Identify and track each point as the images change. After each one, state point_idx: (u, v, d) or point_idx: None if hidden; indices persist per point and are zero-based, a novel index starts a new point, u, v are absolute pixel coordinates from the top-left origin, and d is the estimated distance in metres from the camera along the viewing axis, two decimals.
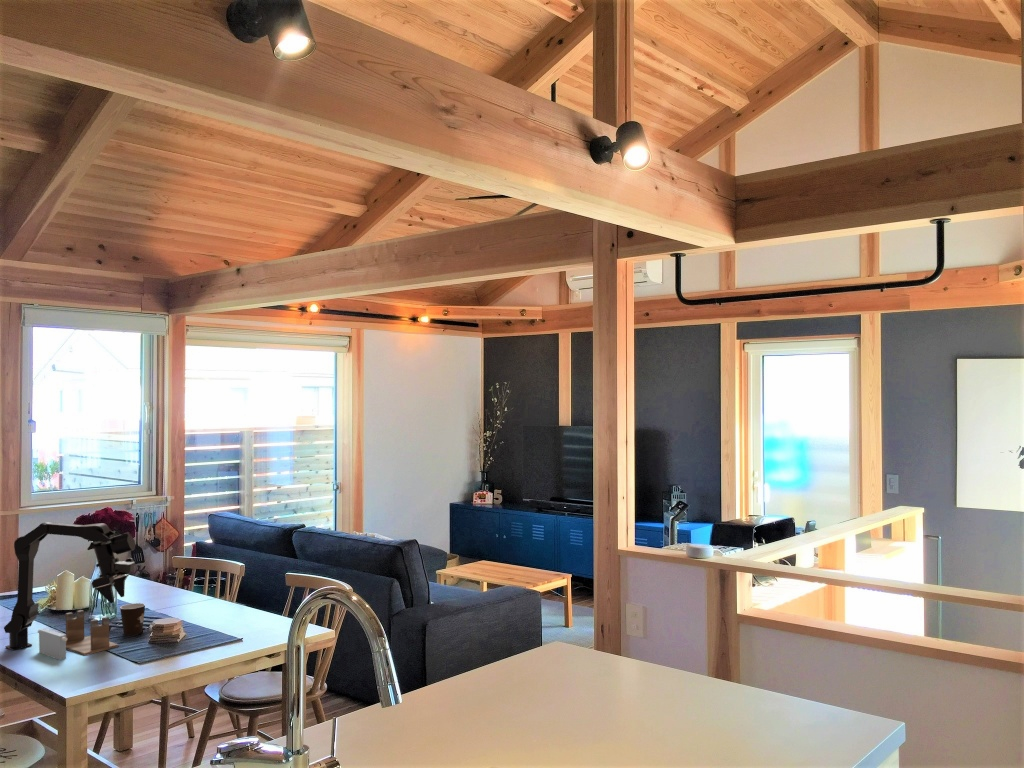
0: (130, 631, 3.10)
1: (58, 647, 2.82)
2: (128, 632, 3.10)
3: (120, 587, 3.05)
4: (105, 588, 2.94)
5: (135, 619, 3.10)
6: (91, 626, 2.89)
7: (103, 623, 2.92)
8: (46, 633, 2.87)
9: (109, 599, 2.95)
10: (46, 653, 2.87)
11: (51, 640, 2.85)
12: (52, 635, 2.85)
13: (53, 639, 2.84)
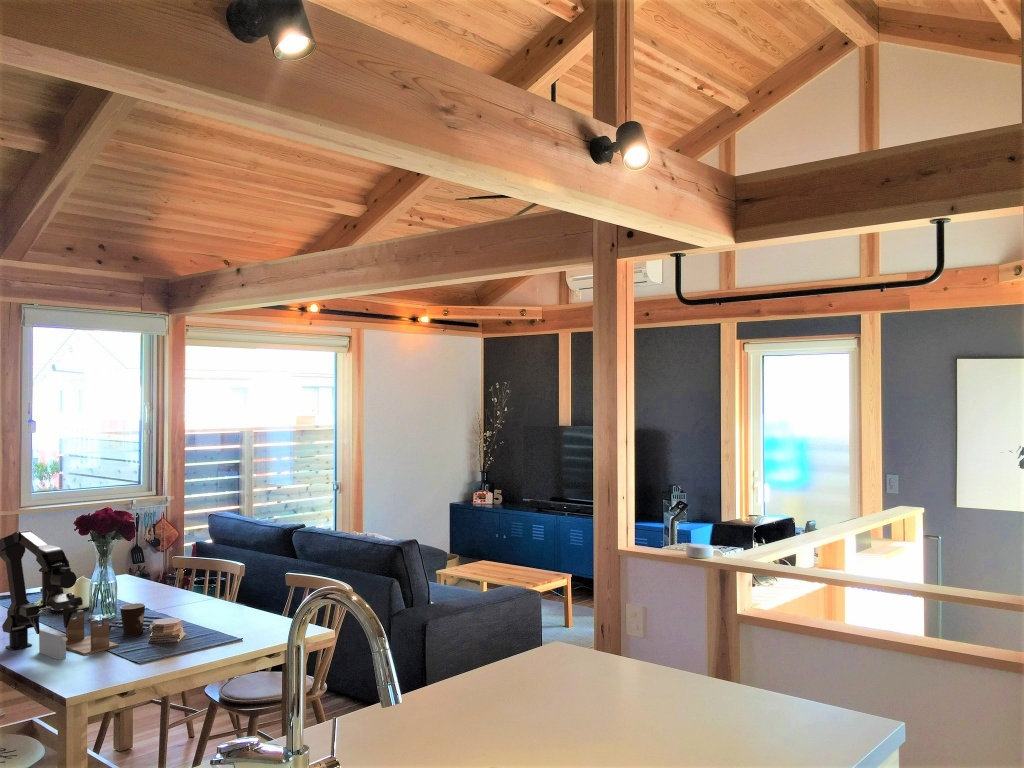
0: (130, 631, 3.10)
1: (58, 647, 2.82)
2: (128, 632, 3.10)
3: (65, 617, 2.91)
4: None
5: (135, 619, 3.10)
6: (91, 626, 2.89)
7: (103, 623, 2.92)
8: (46, 633, 2.87)
9: (35, 629, 2.83)
10: (46, 653, 2.87)
11: (52, 640, 2.85)
12: (52, 635, 2.85)
13: (53, 639, 2.84)
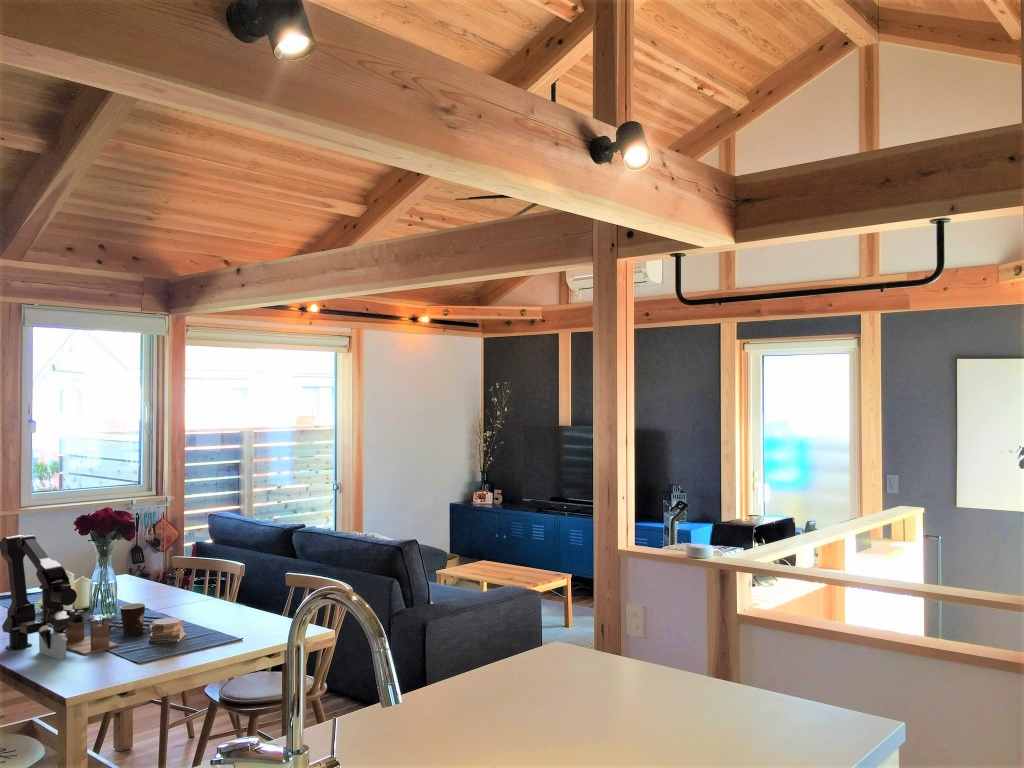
0: (130, 631, 3.10)
1: (58, 647, 2.82)
2: (128, 632, 3.10)
3: None
4: None
5: (135, 619, 3.10)
6: (91, 626, 2.89)
7: (103, 623, 2.92)
8: None
9: (46, 644, 2.85)
10: (46, 653, 2.87)
11: (52, 640, 2.85)
12: (52, 635, 2.85)
13: (53, 639, 2.84)
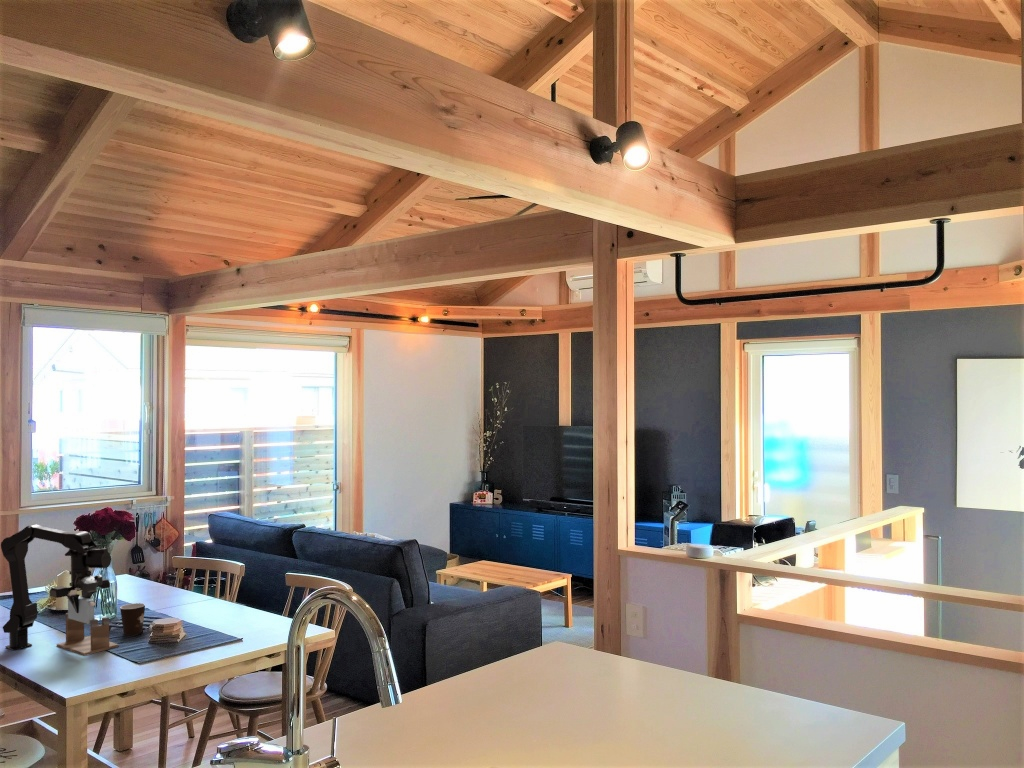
0: (130, 631, 3.10)
1: (86, 612, 2.90)
2: (128, 632, 3.10)
3: None
4: (73, 597, 2.93)
5: (135, 619, 3.10)
6: (91, 626, 2.89)
7: (103, 623, 2.92)
8: None
9: (75, 608, 2.93)
10: (75, 618, 2.95)
11: (80, 605, 2.93)
12: (81, 600, 2.92)
13: (82, 604, 2.92)
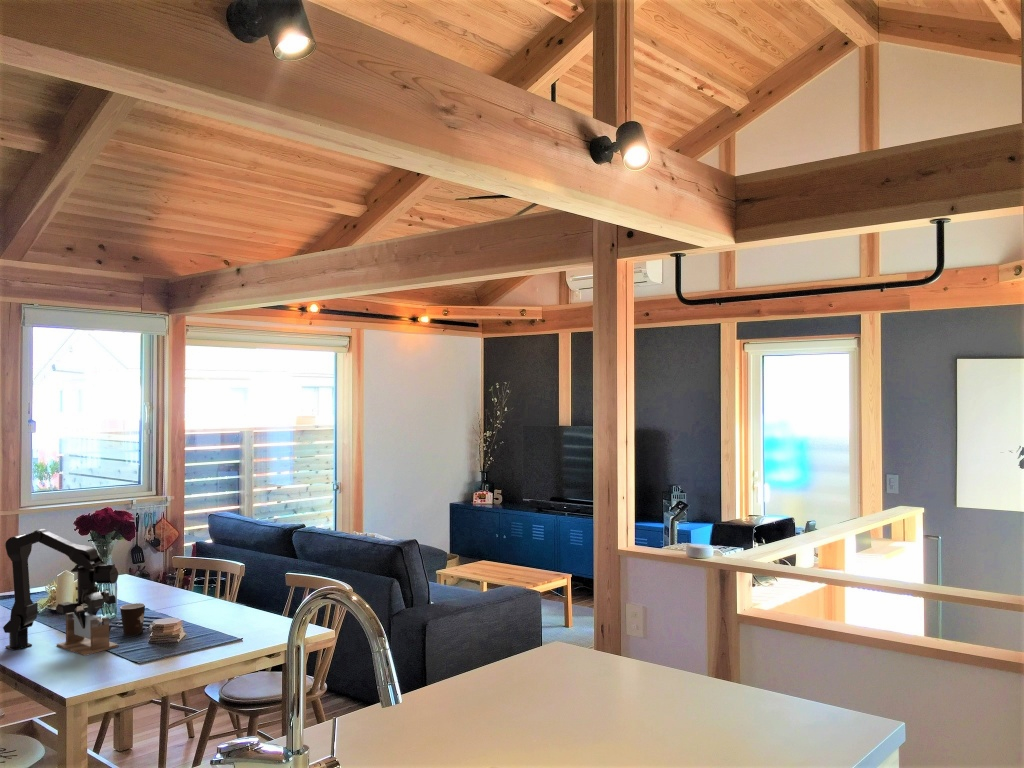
0: (130, 631, 3.10)
1: None
2: (128, 632, 3.10)
3: None
4: None
5: (135, 619, 3.10)
6: (91, 626, 2.89)
7: (103, 623, 2.92)
8: None
9: (81, 624, 2.95)
10: (81, 634, 2.97)
11: (87, 621, 2.94)
12: (87, 617, 2.94)
13: (88, 621, 2.94)
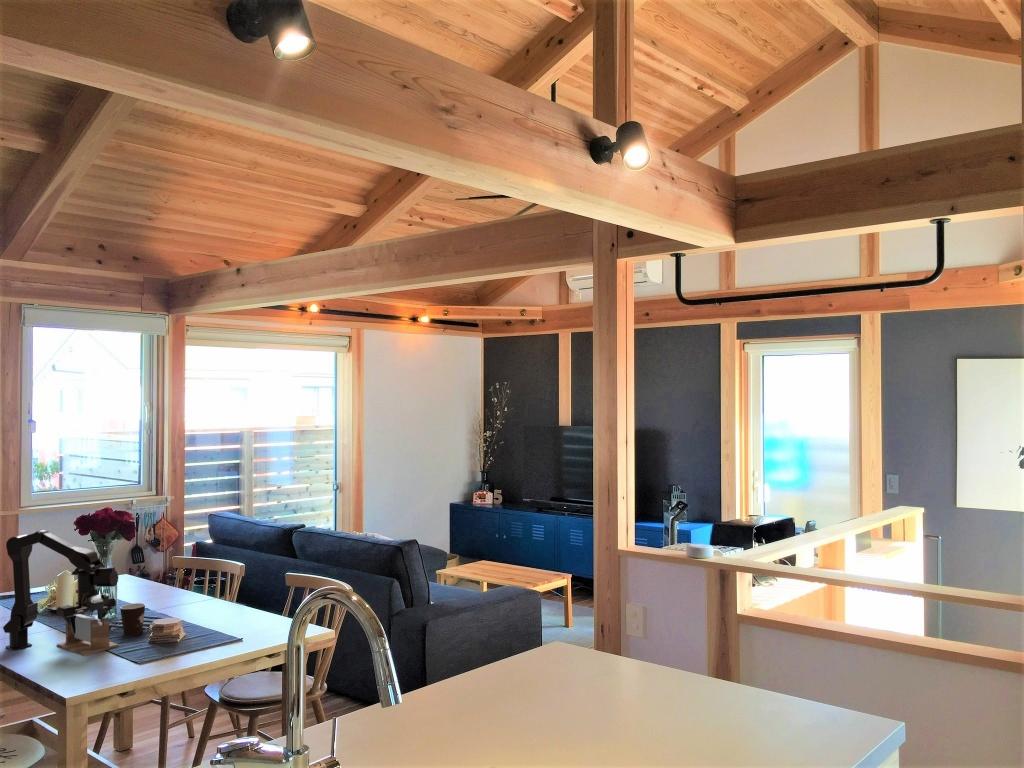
0: (130, 631, 3.10)
1: None
2: (128, 632, 3.10)
3: (100, 618, 3.00)
4: (69, 618, 2.92)
5: (135, 619, 3.10)
6: (91, 626, 2.89)
7: (103, 623, 2.92)
8: (81, 618, 2.97)
9: (71, 629, 2.92)
10: (81, 637, 2.97)
11: (87, 625, 2.94)
12: (87, 620, 2.94)
13: (88, 624, 2.94)
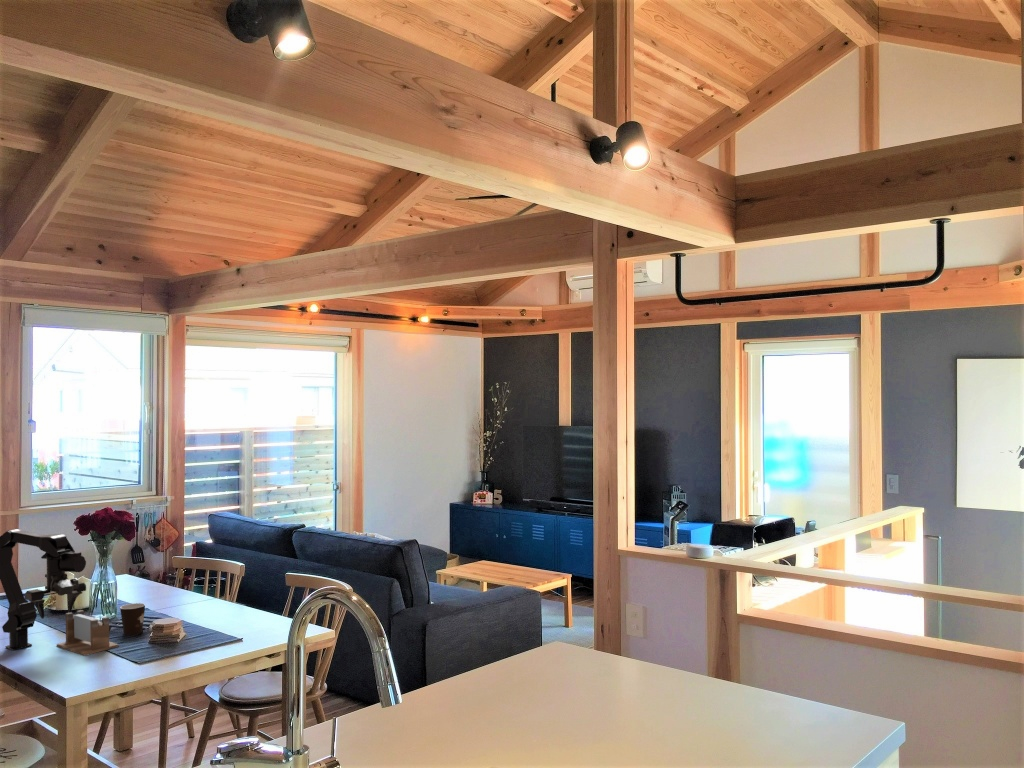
0: (130, 631, 3.10)
1: None
2: (128, 632, 3.10)
3: (69, 602, 2.98)
4: None
5: (135, 619, 3.10)
6: (91, 626, 2.89)
7: (103, 623, 2.92)
8: (81, 618, 2.97)
9: (40, 614, 2.90)
10: (81, 637, 2.97)
11: (87, 625, 2.94)
12: (87, 620, 2.94)
13: (88, 624, 2.94)
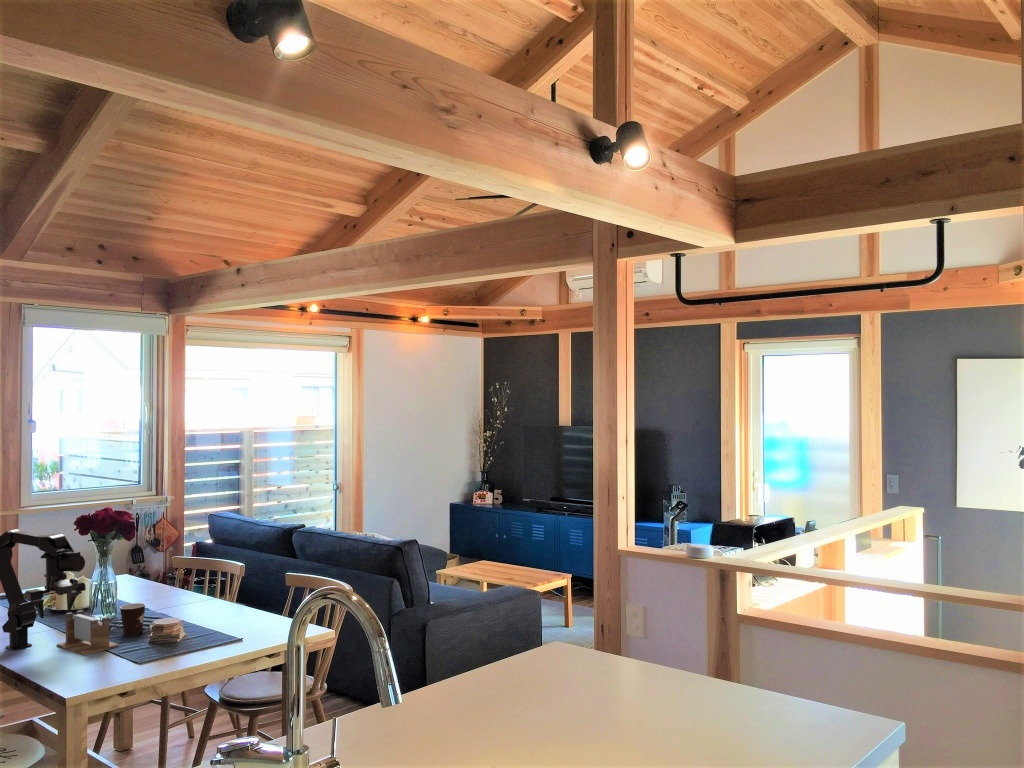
0: (130, 631, 3.10)
1: None
2: (128, 632, 3.10)
3: (69, 602, 2.97)
4: None
5: (135, 619, 3.10)
6: (91, 626, 2.89)
7: (103, 623, 2.92)
8: (81, 618, 2.97)
9: (39, 614, 2.90)
10: (81, 637, 2.97)
11: (87, 625, 2.94)
12: (87, 620, 2.94)
13: (88, 624, 2.94)
